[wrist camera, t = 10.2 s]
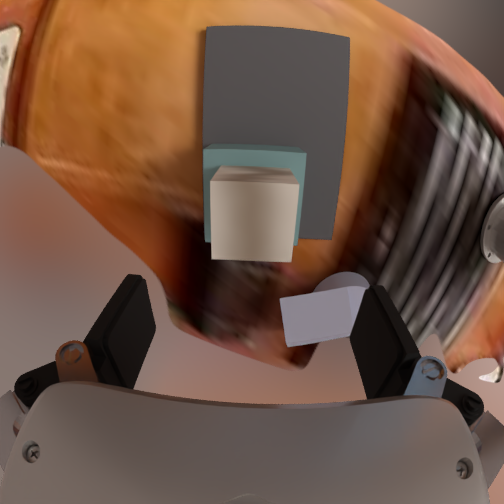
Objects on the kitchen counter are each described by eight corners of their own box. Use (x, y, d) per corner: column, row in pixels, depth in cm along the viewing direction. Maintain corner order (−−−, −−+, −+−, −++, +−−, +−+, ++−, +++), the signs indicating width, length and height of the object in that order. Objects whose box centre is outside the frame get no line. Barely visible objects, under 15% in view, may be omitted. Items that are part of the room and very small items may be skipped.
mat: (347, 39, 22) (349, 37, 21) (329, 236, 33) (331, 239, 32) (208, 29, 22) (206, 26, 21) (205, 231, 33) (204, 234, 32)
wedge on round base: (286, 330, 40) (368, 315, 39) (289, 364, 34) (381, 346, 33) (277, 282, 36) (371, 266, 35) (281, 316, 30) (389, 295, 29)
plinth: (298, 147, 27) (306, 153, 23) (291, 225, 31) (297, 245, 27) (211, 143, 27) (203, 149, 23) (212, 222, 31) (205, 241, 27)
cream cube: (289, 168, 23) (299, 184, 18) (284, 230, 26) (291, 262, 21) (221, 165, 23) (210, 180, 18) (220, 227, 26) (211, 259, 21)
